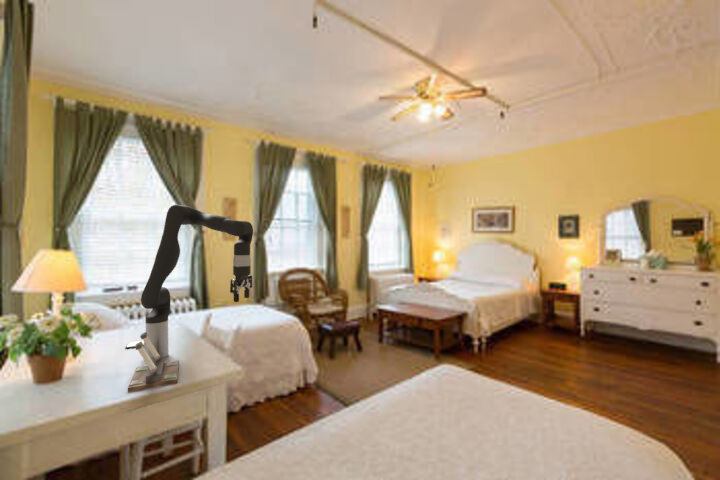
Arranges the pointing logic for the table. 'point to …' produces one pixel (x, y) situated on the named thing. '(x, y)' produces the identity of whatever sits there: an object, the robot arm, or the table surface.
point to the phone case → (133, 344)
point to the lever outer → (146, 357)
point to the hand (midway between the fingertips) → (241, 299)
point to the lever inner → (150, 346)
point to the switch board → (154, 375)
